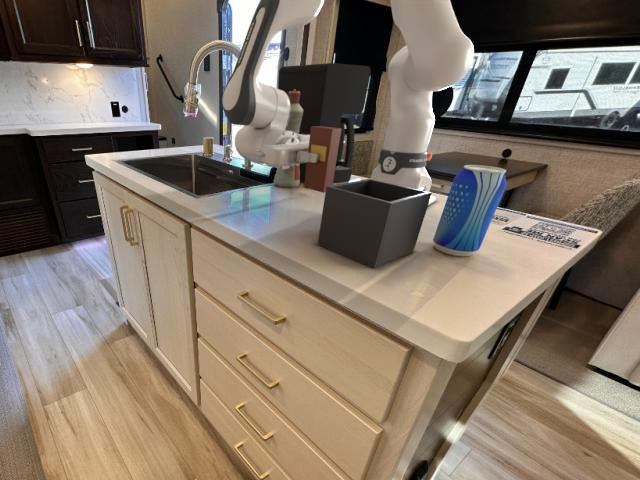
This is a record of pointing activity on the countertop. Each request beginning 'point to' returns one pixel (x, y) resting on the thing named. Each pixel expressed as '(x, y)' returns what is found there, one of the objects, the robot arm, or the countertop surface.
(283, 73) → the coffee maker
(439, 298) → the countertop surface
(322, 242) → the bin
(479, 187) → the beer can
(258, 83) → the robot arm
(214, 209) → the countertop surface
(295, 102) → the bottle
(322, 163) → the packet
